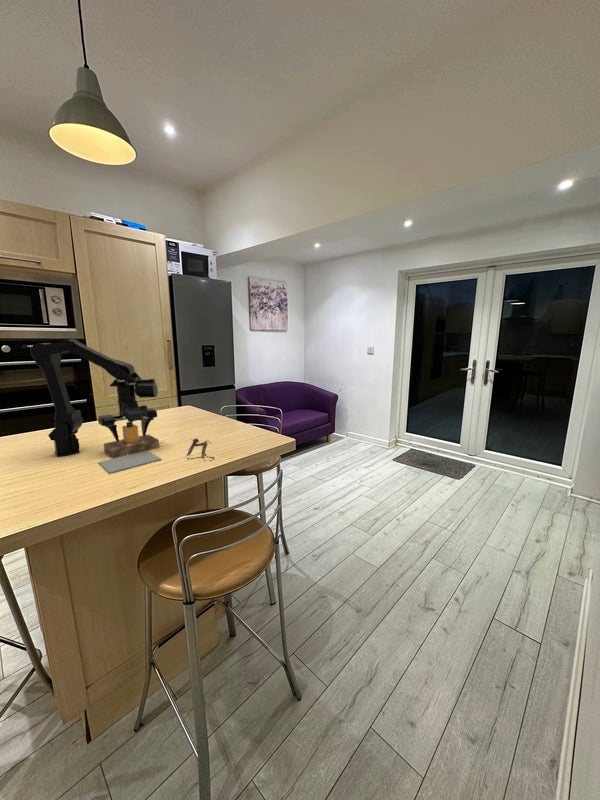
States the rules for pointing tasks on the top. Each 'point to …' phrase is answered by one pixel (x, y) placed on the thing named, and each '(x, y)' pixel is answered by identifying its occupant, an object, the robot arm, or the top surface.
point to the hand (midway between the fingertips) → (131, 438)
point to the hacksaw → (202, 449)
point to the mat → (128, 461)
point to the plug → (130, 433)
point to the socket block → (130, 446)
